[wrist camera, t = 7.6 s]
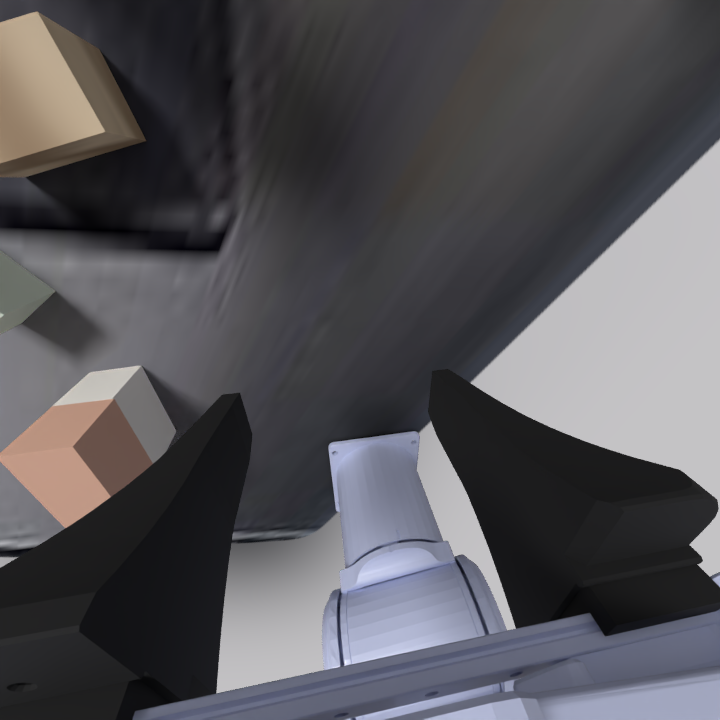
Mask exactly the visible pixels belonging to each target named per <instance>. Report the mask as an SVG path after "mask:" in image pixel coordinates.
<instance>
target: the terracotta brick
mask: <svg viewBox="0 0 720 720" xmlns="http://www.w3.org/2000/svg"><path fill="white" fill-rule="evenodd" d="M0 462H1V463H2V464H3V465H4V466H5V467H6V468H7V469H8V470H9V471H10V472H11V473H12V474H13V475H14V476H15V477H16V478H17V479H18V480H19V481H20V482H21V483H22V484H23V485H24V486H25V487H26V488H27V489H28V490H29V491H30V492H31V493H32V494H33V495H34V496H35V497H36V499H37V500H38V501H39V502H40V503H41V504H42V505H43V506H44V507H45V508H46V509H47V510H48V511H49V512H50V513H51V514H52V515H53V516H54V517H55V518H56V519H57V520H58V521H59V522H60V523H61V524H62V525H63V526H64V527H65V528H67V527H68V526H70V525H71V524H73V523H74V522H76V521H77V520H79V519H81V518H82V517H84V516H85V515H86V514H88V513H89V512H91V511H92V510H94V509H95V508H96V507H98V506H99V505H100V504H102V503H103V502H105V501H106V500H107V499H109V498H110V497H111V496H113V495H114V494H116V493H117V492H118V491H120V490H121V489H122V488H124V487H125V486H126V485H128V484H129V483H130V482H131V481H133V480H134V479H135V478H136V477H138V476H139V475H140V474H141V473H143V472H144V471H145V470H146V469H147V468H149V467H150V466H151V465H152V464H153V463H152V461H151V460H150V458H149V456H148V455H147V453H146V451H145V450H144V448H143V446H142V444H141V443H140V441H139V439H138V438H137V436H136V434H135V433H134V431H133V429H132V428H131V426H130V424H129V423H128V421H127V419H126V418H125V416H124V414H123V413H122V411H121V409H120V407H119V406H118V404H117V402H116V401H115V399H108V400H100V401H92V402H83V403H75V404H67V405H59V406H52V407H51V408H50V409H49V410H48V411H47V412H45V413H44V414H43V415H42V416H41V417H40V418H39V419H38V420H37V421H35V422H34V423H33V424H32V425H31V426H30V427H29V428H28V429H27V430H25V431H24V432H23V433H22V434H21V435H20V436H19V437H18V438H17V439H15V440H14V441H13V442H12V443H11V444H10V445H9V446H8V447H7V448H5V449H4V450H3V451H2V452H1V453H0Z"/></svg>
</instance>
